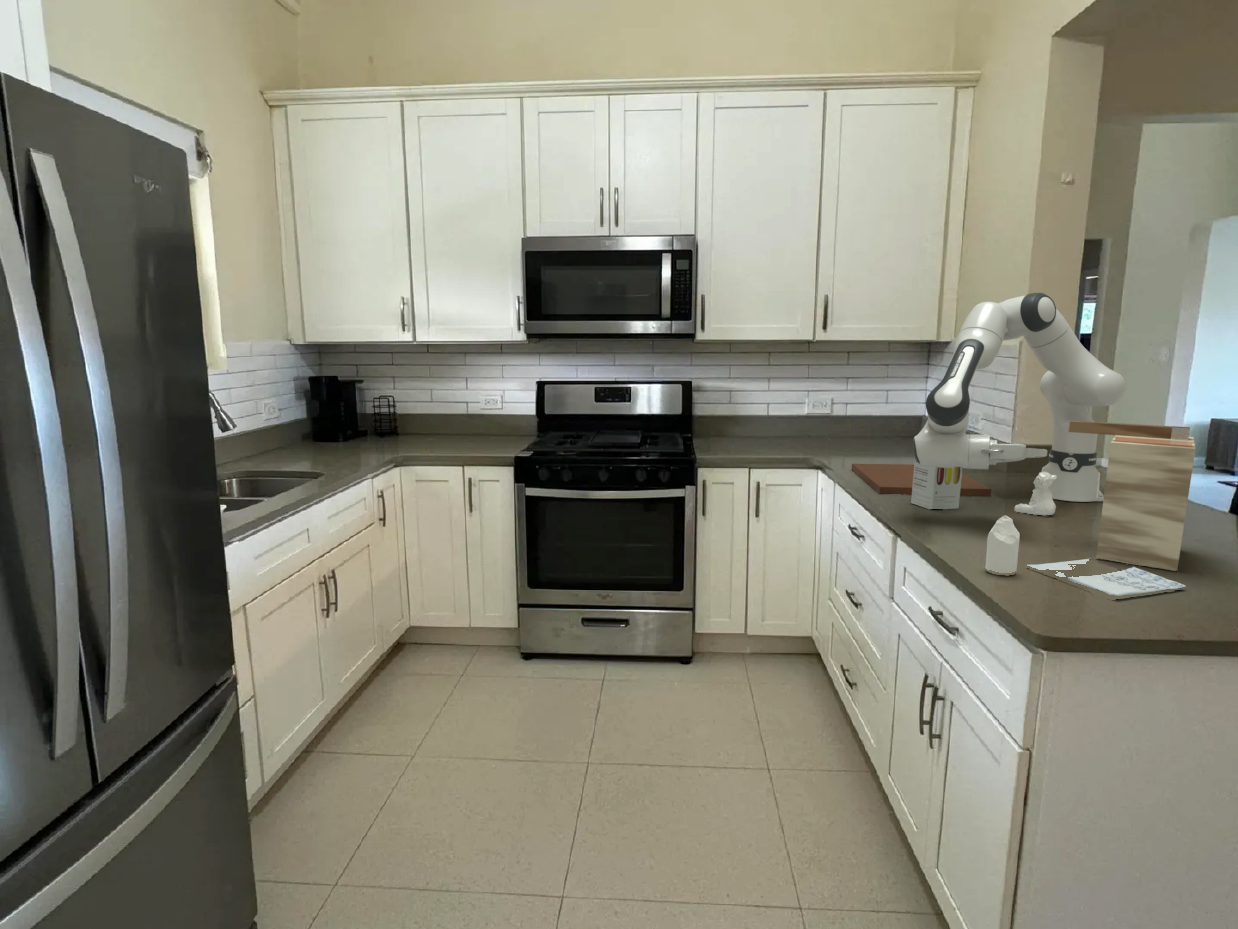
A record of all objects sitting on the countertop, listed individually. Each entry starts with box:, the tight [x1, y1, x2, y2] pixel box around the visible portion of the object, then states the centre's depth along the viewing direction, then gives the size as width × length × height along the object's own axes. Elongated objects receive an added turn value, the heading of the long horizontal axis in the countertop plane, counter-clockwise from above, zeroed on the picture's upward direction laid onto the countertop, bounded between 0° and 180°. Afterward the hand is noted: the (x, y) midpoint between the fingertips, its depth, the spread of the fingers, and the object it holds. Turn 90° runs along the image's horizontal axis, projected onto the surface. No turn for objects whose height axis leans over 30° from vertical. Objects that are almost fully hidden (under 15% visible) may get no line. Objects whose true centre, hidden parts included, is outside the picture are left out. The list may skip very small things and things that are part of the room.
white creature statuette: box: [1013, 471, 1057, 516], centre depth 191 cm, size 10×9×12 cm
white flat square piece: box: [1026, 558, 1187, 596], centre depth 141 cm, size 19×20×2 cm
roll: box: [985, 515, 1021, 573], centre depth 144 cm, size 6×12×6 cm
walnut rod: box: [1069, 420, 1191, 441], centre depth 159 cm, size 4×22×2 cm, turn 52°
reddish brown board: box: [851, 463, 992, 498], centre depth 234 cm, size 40×3×33 cm
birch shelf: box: [1095, 435, 1196, 571], centre depth 154 cm, size 20×14×26 cm
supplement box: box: [910, 458, 963, 510], centre depth 200 cm, size 10×9×17 cm
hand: (1045, 453), depth 171 cm, fingers open, 8 cm apart
